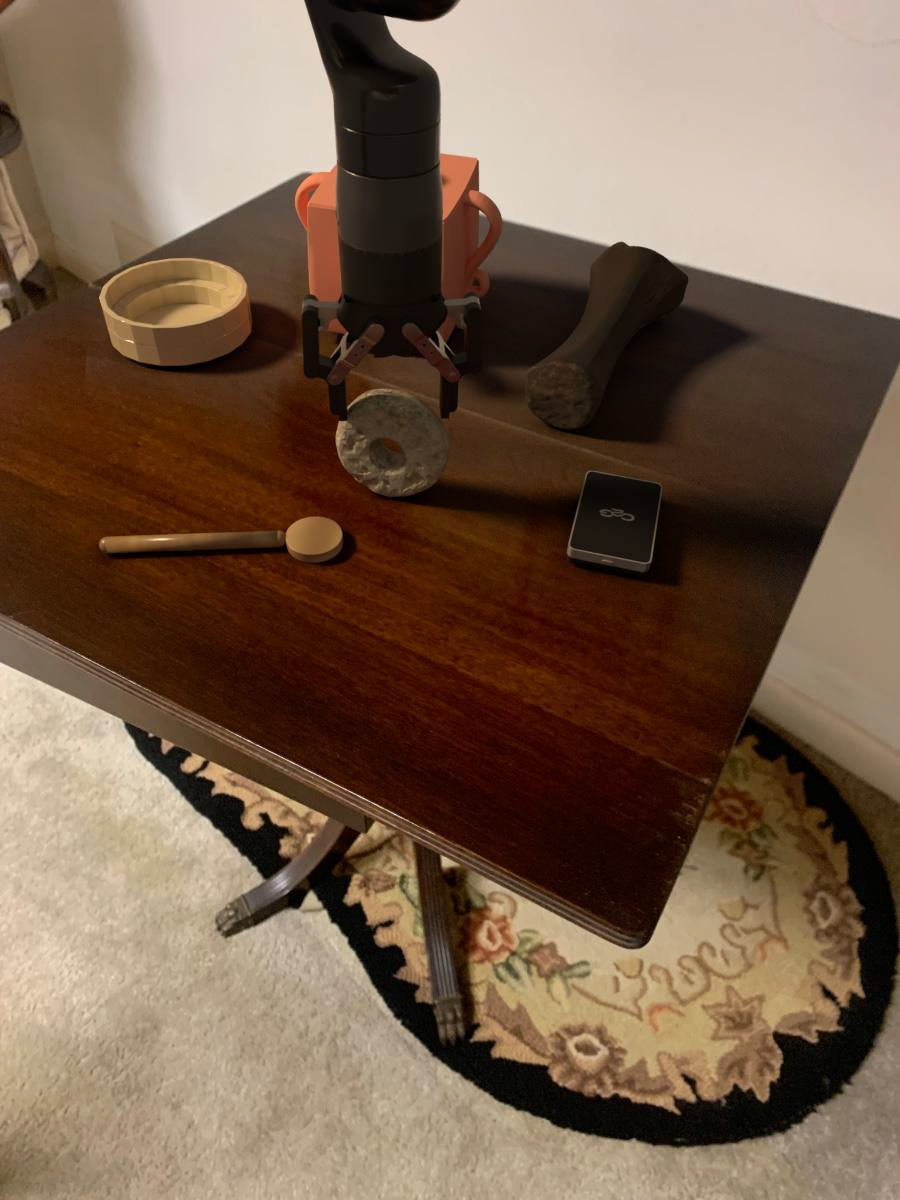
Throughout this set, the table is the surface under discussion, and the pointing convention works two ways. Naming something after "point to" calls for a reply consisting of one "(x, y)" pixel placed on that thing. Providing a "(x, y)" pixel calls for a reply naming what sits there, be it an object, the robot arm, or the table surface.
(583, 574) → the table surface
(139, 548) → the spoon
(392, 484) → the stone ring
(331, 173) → the teapot
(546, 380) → the dark brown bone
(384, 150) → the robot arm
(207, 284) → the bowl
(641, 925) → the table surface
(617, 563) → the external hard drive
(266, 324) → the table surface
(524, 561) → the table surface
